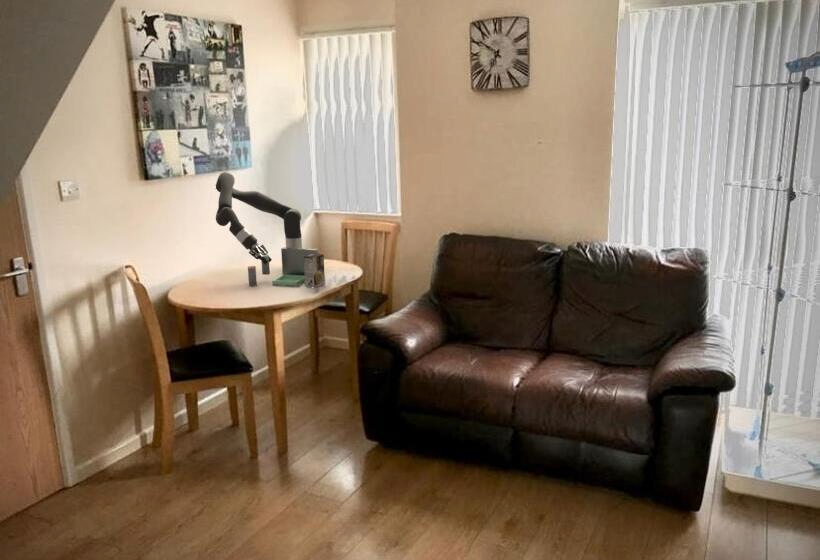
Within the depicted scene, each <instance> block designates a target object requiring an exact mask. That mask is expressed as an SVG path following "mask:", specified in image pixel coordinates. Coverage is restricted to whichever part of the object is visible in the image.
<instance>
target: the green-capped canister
mask: <svg viewBox="0 0 820 560" xmlns="http://www.w3.org/2000/svg"><path fill="white" fill-rule="evenodd" d="M263 257H264V258H265V259H266V260H267V261H268V262H267V264H264V263H263V262H262V261H261V260H260V262H261V275H270V274H271V269H270V262H269V257H270V255H269V254H267V255H263Z"/></svg>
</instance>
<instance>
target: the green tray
mask: <svg viewBox="0 0 820 560" xmlns="http://www.w3.org/2000/svg"><path fill="white" fill-rule="evenodd" d="M271 281H272V286H278V285H285V286H284V287H294V286H297V287H298V285H299V286H301V284H303V283H304V284H305V276H302V275H284V274H283V273H282V274H281V275H280V276H278V277H276V278H274V279H272V280H271Z"/></svg>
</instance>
